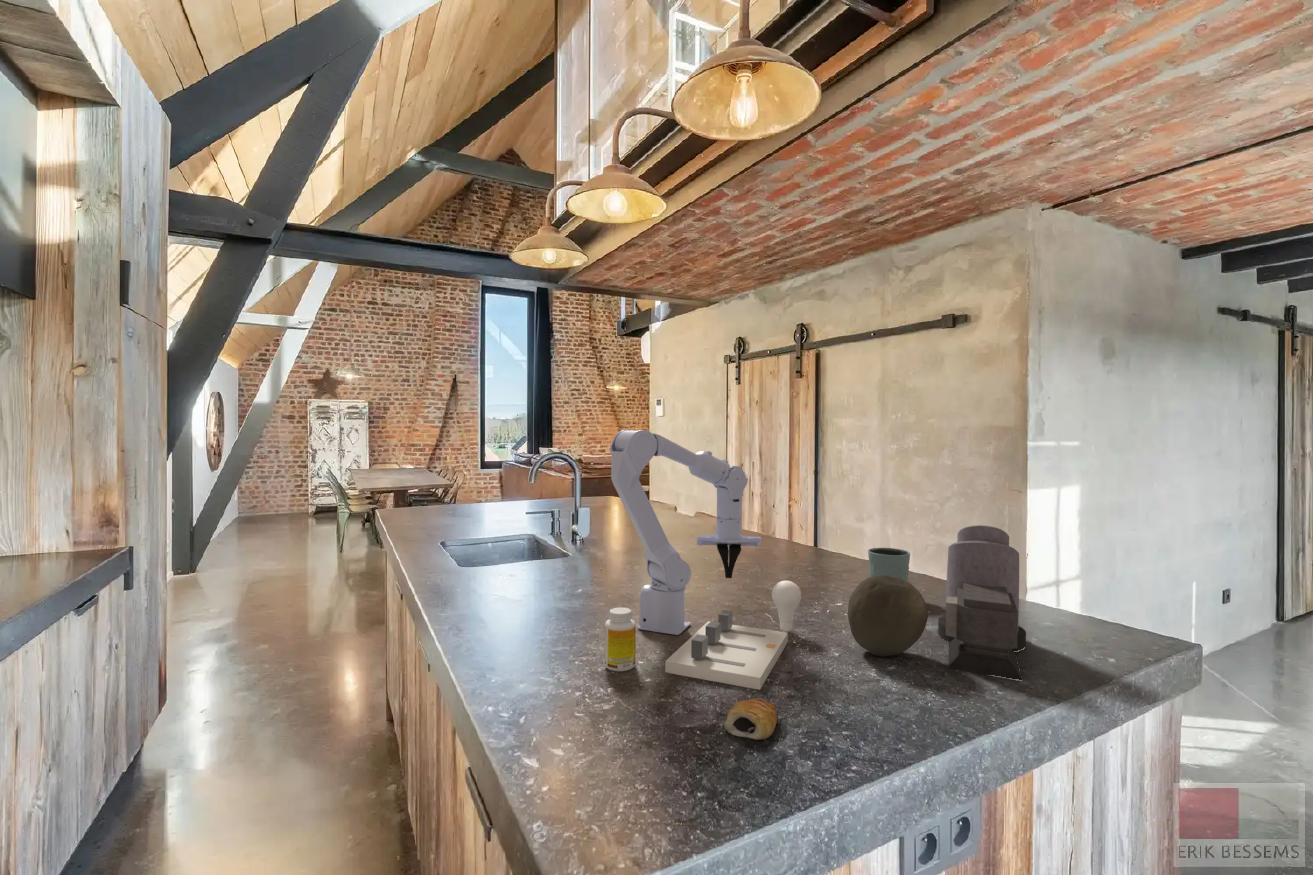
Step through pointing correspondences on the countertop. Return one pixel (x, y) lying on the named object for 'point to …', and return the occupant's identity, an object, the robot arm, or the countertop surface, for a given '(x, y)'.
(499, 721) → the countertop surface
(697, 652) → the block
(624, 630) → the supplement bottle
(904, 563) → the drinking glass
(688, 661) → the breaker panel
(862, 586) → the cantaloupe
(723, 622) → the block
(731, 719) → the pastry
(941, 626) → the juicer
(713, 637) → the block
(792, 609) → the lightbulb
